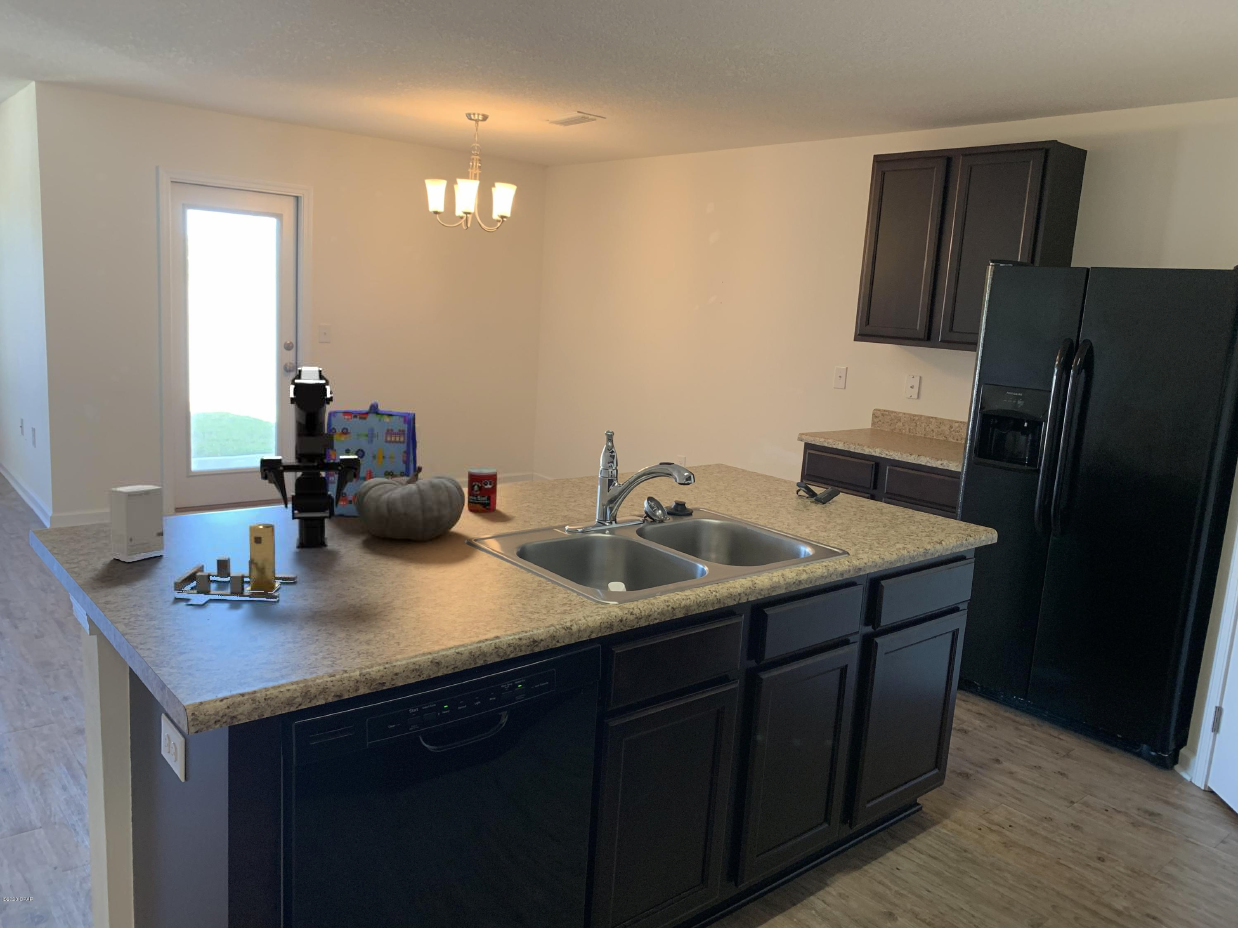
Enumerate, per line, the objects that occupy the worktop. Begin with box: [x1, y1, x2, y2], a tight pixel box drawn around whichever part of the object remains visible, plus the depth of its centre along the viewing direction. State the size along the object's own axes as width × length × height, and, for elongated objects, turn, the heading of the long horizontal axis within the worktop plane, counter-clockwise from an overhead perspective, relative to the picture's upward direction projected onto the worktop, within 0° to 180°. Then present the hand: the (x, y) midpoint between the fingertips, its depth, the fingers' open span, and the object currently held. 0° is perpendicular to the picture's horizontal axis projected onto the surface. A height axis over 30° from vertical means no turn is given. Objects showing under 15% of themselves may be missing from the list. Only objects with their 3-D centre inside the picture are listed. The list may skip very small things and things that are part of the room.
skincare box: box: [108, 484, 165, 556], centre depth 184 cm, size 8×6×15 cm
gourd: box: [355, 465, 466, 542], centre depth 211 cm, size 25×25×17 cm
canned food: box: [467, 466, 498, 513], centre depth 242 cm, size 8×8×11 cm
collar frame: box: [173, 556, 298, 599], centre depth 167 cm, size 16×18×4 cm
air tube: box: [245, 523, 282, 592], centre depth 168 cm, size 5×5×12 cm
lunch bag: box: [324, 401, 418, 517], centre depth 231 cm, size 22×14×29 cm, turn 92°
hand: (311, 507), depth 174 cm, fingers open, 9 cm apart
